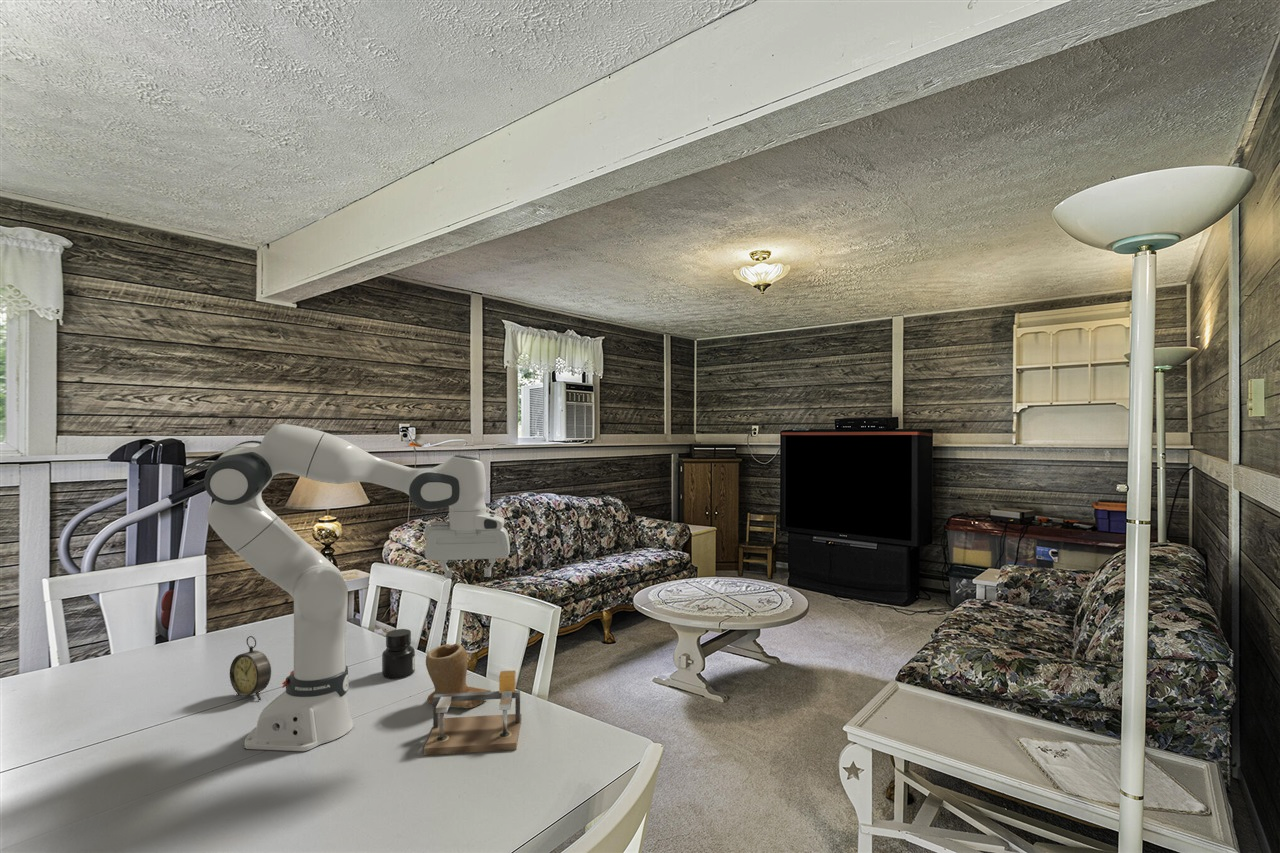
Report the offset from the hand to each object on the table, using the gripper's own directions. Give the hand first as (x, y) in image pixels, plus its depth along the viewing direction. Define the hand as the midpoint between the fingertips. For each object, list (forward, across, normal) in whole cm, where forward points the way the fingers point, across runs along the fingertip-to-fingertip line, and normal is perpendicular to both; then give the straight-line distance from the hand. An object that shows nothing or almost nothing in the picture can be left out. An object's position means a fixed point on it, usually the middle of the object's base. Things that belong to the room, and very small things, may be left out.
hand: (468, 577), depth 152 cm
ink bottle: (+35, -25, +31) cm, 53 cm away
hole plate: (+35, +3, -9) cm, 36 cm away
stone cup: (+35, -5, +9) cm, 37 cm away
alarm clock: (+35, -60, +20) cm, 72 cm away
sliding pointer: (+33, +10, -9) cm, 36 cm away
